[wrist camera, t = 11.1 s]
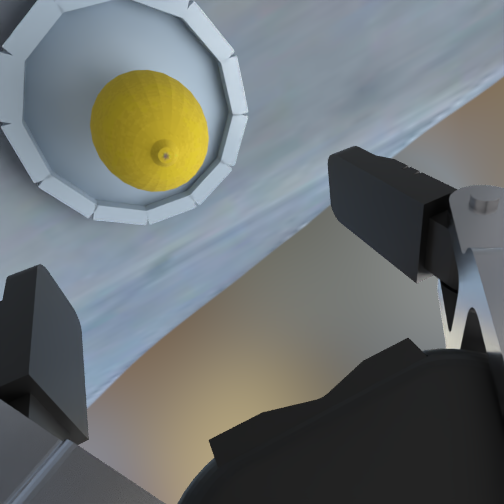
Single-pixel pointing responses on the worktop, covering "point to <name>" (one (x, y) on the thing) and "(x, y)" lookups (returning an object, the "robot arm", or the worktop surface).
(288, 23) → the worktop surface
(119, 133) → the lemon
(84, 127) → the dish
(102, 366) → the worktop surface
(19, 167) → the worktop surface
